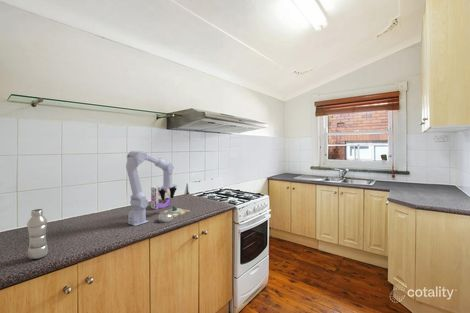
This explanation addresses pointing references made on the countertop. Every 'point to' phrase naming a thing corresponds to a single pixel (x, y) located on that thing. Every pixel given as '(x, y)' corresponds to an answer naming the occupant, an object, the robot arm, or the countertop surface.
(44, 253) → the plastic bottle
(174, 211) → the lid
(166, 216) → the tin
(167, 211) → the board
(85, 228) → the countertop surface
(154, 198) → the candy box
